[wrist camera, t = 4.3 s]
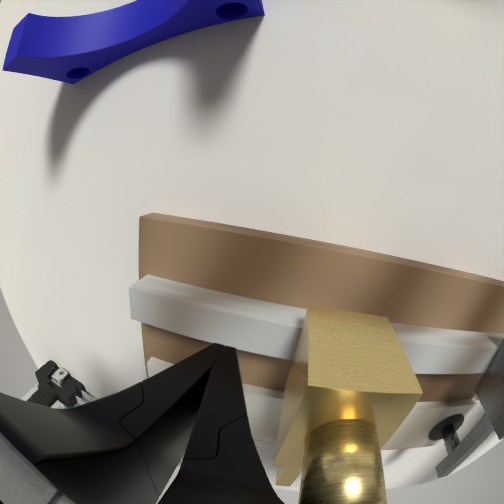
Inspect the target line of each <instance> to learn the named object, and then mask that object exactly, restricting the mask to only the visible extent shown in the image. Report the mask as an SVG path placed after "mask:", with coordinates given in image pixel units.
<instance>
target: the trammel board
mask: <svg viewBox="0 0 504 504" xmlns="http://www.w3.org/2000/svg"><path fill="white" fill-rule="evenodd" d="M129 294H130V308H131V319H134V320H137V321H140V322H141V326H142V337H143V348H144V357H145V365H146V373H147V378H149V377H151V376H153V375H155V374H157V373H159V372H161V371H163V370H165V369H167V368H168V367H170V366H172V365H174V364H176V363H178V362H180V361H181V360H183V359H185V358H187V357H189V356H191V355H192V354H194V353H196V352H198V351H200V350H201V349H203V348H205V347H207V346H208V345H210V344H212V343H219V344H223V345H225V346H226V345H227V346H231V347H235V348H236V349H237V354H238V360H239V367H240V373H241V379H242V385H243V391H244V397H245V403H246V409H247V416H248V419H249V425H250V429H251V433H252V437H253V439H255V440H260V441H265V442H271V443H277V438H278V431H279V425H280V418H281V412H282V405H283V397H284V390H285V385H286V381H287V378H288V375H289V372H290V368H291V365H292V362H293V358H294V355H295V352H296V348H297V345H298V341H299V337H300V334H301V330H302V326H303V323H304V319H305V315H306V311H307V307H308V304H310V305H316V306H322V307H327V308H333V309H339V310H345V311H351V312H358V313H364V314H371V315H377V316H384V317H388V319H389V321H390V323H391V325H392V327H393V329H394V331H395V333H396V335H397V337H398V339H399V341H400V343H401V345H402V347H403V349H404V351H405V353H406V356H407V358H408V360H409V362H410V364H411V367H412V369H413V371H414V373H415V376H416V378H417V380H418V383H419V385H420V387H421V390H422V392H423V394H422V396H421V397H420V399H419V400H418V402H417V403H416V405H415V406H414V408H413V409H412V410H411V412H410V413H409V415H408V416H407V417H406V419H405V420H404V421H403V423H402V424H401V425H400V427H399V428H398V429H397V430H396V432H395V433H394V434H393V435H392V437H391V438H390V439H389V440H388V442H387V443H386V444H385V445H384V446H383V447H382V449H381V450H394V449H407V448H417V447H426V446H433V445H440V444H445V443H444V440H443V437H442V435H441V430H442V428H444V427H445V426H446V425H449V424H453V425H454V428H455V430H456V431H457V430H458V429H459V427H460V426H461V425H462V424H463V422H464V421H465V420H466V419H467V417H468V416H469V415H470V414H471V412H472V411H473V410H474V408H475V407H476V406H477V404H478V403H477V400H478V397H477V395H476V393H475V392H474V388H475V387H476V385H477V384H478V382H479V381H480V379H481V378H482V376H483V374H484V373H485V371H486V370H487V368H488V366H489V364H490V363H491V361H492V359H493V357H494V356H495V354H496V352H497V350H498V348H499V346H500V344H501V342H502V340H503V338H504V281H500V280H496V279H492V278H488V277H483V276H479V275H475V274H471V273H467V272H462V271H458V270H454V269H449V268H445V267H441V266H436V265H432V264H427V263H423V262H418V261H413V260H409V259H404V258H399V257H395V256H390V255H385V254H380V253H375V252H371V251H366V250H361V249H356V248H351V247H346V246H341V245H336V244H330V243H325V242H320V241H315V240H309V239H304V238H299V237H293V236H288V235H283V234H277V233H271V232H266V231H260V230H255V229H249V228H243V227H237V226H231V225H225V224H220V223H214V222H207V221H201V220H195V219H189V218H183V217H176V216H170V215H163V214H157V213H151V214H147V215H144V216H141V217H140V220H139V281H137V282H136V283H134V284H133V285H131V286H130V287H129Z"/></svg>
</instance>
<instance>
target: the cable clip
mask: <svg viewBox="0 0 504 504" xmlns="http://www.w3.org/2000/svg"><path fill="white" fill-rule="evenodd" d="M262 15H265V14H264V9H263V4H262V0H137V1H134V2H132V3H129V4H126V5H124V6H121V7H117V8H114V9H111V10H107V11H103V12H99V13H94V14H88V15H82V16H73V17H47V16H40V15H35V14H31V13H28V14H27V15H26V16H25V17H24V18H23V19H22V20H21V21H20V22H19V23H18V24H17V25H16V27H15V28H14V29H13V32H12V35H11V39H10V42H9V46H8V50H7V53H6V57H5V62H4V66H3V71H10V72H17V73H23V74H29V75H34V76H39V77H44V78H49V79H53V80H58V81H62V82H66V83H70V84H75V83H76V82H78V81H79V80H81V79H83V78H84V77H86V76H88V75H90V74H91V73H93V72H95V71H97V70H99V69H101V68H102V67H104V66H106V65H108V64H110V63H112V62H114V61H116V60H118V59H120V58H122V57H124V56H127V55H129V54H131V53H133V52H136V51H138V50H140V49H143V48H145V47H147V46H150V45H152V44H155V43H158V42H160V41H163V40H166V39H169V38H171V37H174V36H177V35H180V34H183V33H187V32H190V31H193V30H197V29H200V28H204V27H208V26H212V25H216V24H220V23H224V22H229V21H233V20H238V19H244V18H249V17H256V16H262Z"/></svg>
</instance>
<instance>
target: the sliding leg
mask: <svg viewBox="0 0 504 504" xmlns="http://www.w3.org/2000/svg"><path fill="white" fill-rule="evenodd" d="M422 394H423V392H422V390H421V387H420V385H419V383H418V380H417V378H416V376H415V373H414V371H413V369H412V367H411V364H410V362H409V360H408V358H407V356H406V353H405V351H404V349H403V347H402V345H401V343H400V341H399V339H398V337H397V335H396V333H395V331H394V329H393V327H392V325H391V323H390V321H389V319H388V317H384V316H377V315H371V314H364V313H358V312H351V311H345V310H339V309H333V308H327V307H322V306H316V305H310V304H308V307H307V311H306V315H305V319H304V323H303V326H302V330H301V334H300V337H299V341H298V345H297V348H296V352H295V355H294V358H293V362H292V365H291V368H290V372H289V375H288V378H287V381H286V385H285V390H284V397H283V405H282V412H281V418H280V425H279V431H278V438H277V444H276V450H275V455H274V461H273V465H276V466H280V468H279V469H278V472H277V478H276V484H275V485H282V486H291V484H292V483H293V482H294V480H295V479H296V478H297V476H298V475H299V474H300V472H301V471H302V476H301V485H300V494H299V503H298V504H387V501H386V491H385V481H384V473H383V466H382V458H381V452H380V450H381V449H382V447H383V446H384V445H385V444H386V443H387V442H388V440H389V439H390V438H391V437H392V435H393V434H394V433H395V432H396V430H397V429H398V428H399V427H400V425H401V424H402V423H403V421H404V420H405V419H406V417H407V416H408V415H409V413H410V412H411V410H412V409H413V408H414V406H415V405H416V403H417V402H418V400H419V399H420V397H421V396H422Z"/></svg>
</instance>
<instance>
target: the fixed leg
mask: <svg viewBox="0 0 504 504" xmlns="http://www.w3.org/2000/svg"><path fill="white" fill-rule="evenodd" d="M474 392H475V393H476V395H477V397H478V399H479V400H480V402H481V404H482V406H483V408H484V410H485V412H486V413H485V415H484V416H483V417H482V419H481V420H480V421H479V422H478V423H477V425H476V426H475V427H474V428H473V429H472V430H471V432H470V433H469V434H468V435H467V436H466V437H465V438H464V439H463V441H462V442H461V443H460V441H459V438H458V435H457V433H456V430H455V428H454V425H453V424H449V425H446V426H445V427H444V428H442V430H441V435H442V437H443V440H444V443H445V446H446V449H447V452H448V456H447V457H446V458H445V459H444V460H443V461H442V462H441V463H440V464H438V465H437V466H436V470H437V474H438V478H440V477H444V476H447V475H448V474H450V473H451V472H452V471H453V470H454V469H455V468H456V467H458V466H459V465H460V464H461V463H462V462H463V461H464V460H465V459H466V458H467V457H468V456H469V455H470V454H471V453H472V452H473V451H474V450H475V449H476V448H477V447H478V446H479V445H480V444H481V443H482V442H483V441H484V440H485V439H486V438H487V437H488V435H489V434H490V433H491V432H492V431H493V430H494V429H495V432H496V434H497V436H498V438H499V440H500V439H503V438H504V338H503V340H502V342H501V344H500V346H499V348H498V350H497V352H496V354H495V356H494V357H493V359H492V361H491V363H490V364H489V366H488V368H487V370H486V371H485V373H484V374H483V376H482V378H481V379H480V381H479V382H478V384H477V385H476V387H475V388H474Z"/></svg>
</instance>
